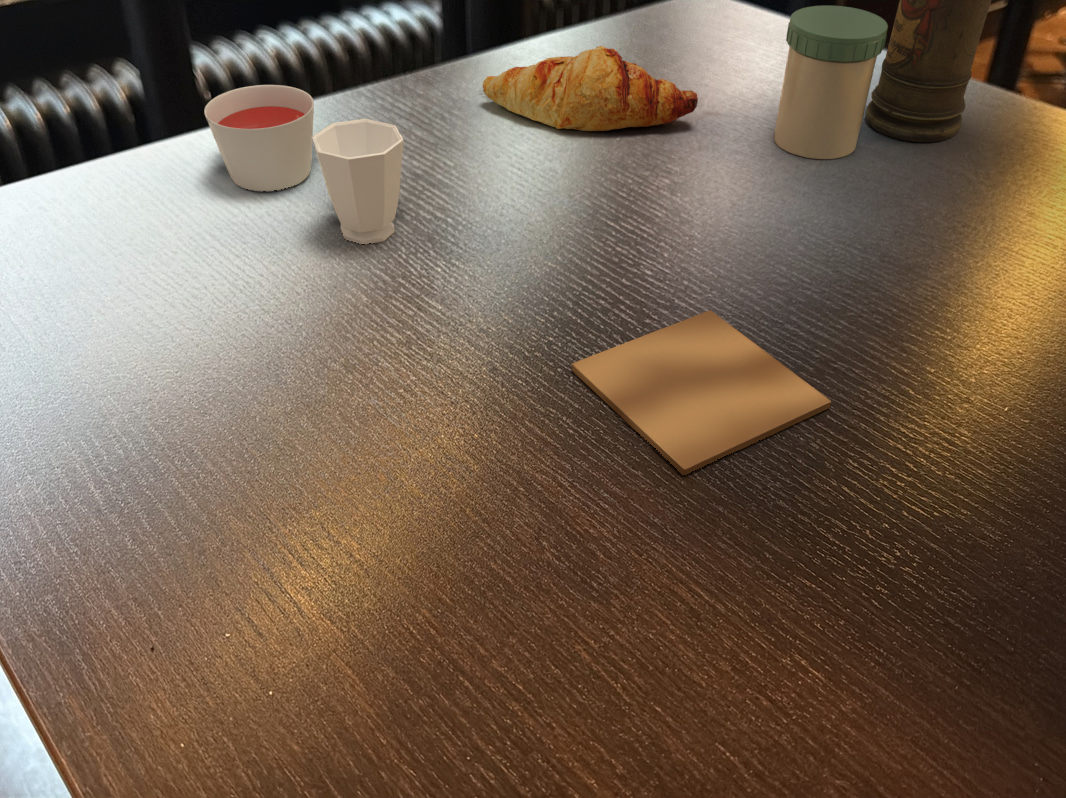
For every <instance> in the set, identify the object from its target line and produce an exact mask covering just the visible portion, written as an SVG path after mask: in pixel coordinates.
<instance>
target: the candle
mask: <svg viewBox="0 0 1066 798" xmlns="http://www.w3.org/2000/svg"><path fill="white" fill-rule="evenodd" d="M314 112H315V102H314V98H313V97H312V96H311V95H310V93H308V92H306V91H304V90H303V89H300V88H296V87H293V86H288V85H281V84H260V85H259V84H257V85H249V86H244V87H239V88H235V89H232V90H228V91H225V92H223V93H221V94H218V95H217V96H215V97H214V98H212V99H211V100H210V101H209V102H208V103H207V104H206V105H205V106H204V112H203V113H204V116H205V119H206V121H207V124H208V127H209V129H210V131H211V134H212V136H213V139H214V141H215V144H216V146H217V148H218V151H219V153H220V155H221V159H222V160H223V163H224V164H225V168H226V169H227V172H228V175H229V177H230V179H231V180H232V182H233V183H234V184H235V185H237V186H238V187H240V188H241V189H245V190H247V189H248V191H252V190H253V191H252V192H263V191H266V192H275V191H274V190H277V191H282V190H285V189H284V188H286V189H289V188H288V187H290V188H292V187H294V185H295V186H297V185H299V184H301V183H303V181H305V180H306V179H307V178H308V177H309V176H310V173H311V169H312V161H313V160H312V158H313V140H312V136H314ZM291 186H292V187H291ZM281 189H282V190H281Z"/></svg>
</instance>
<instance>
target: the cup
mask: <svg viewBox="0 0 1066 798" xmlns="http://www.w3.org/2000/svg"><path fill="white" fill-rule="evenodd" d="M312 144H313V147H314V150H315V153H316V156H317V159H318V163H319V166H320V170H321V173H322V176H323V181H324V183H325V187H326V190H327V193H328V197H329V198H330V201H331V204H332V206H333V209H334V211H335V213H336V216H337V219H338V221H339V223H340V226H339V227H340V231H341V234H342V233H343V234H342V237H343V239H344V238H345V239H346V240H345V239H344V240H345V241H347V240H349V241H348V242H351V241H353V242H352V243H354V242H357V243H356V244H358V243H359V244H358V245H361V244H365V245H370V244H369V243H371V244H377V243H383V242H385V241H386V240H387V239H388V238H389V237H391V236H392V235H393V234H394V233H395V232H396V230H395V225H394V223H393V221H394V220H395V219H396V214H397V211H398V210H397V209H398V205H399V200H400V191H401V179H402V177H401V176H402V166H403V165H402V164H403V152H404V138H403V136H402V135H401V132H400V131H399V129H398V127H397V126H396V124H391V123H387V122H382V121H377V120H374V119H369V118H360V119H353V120H345V121H338V122H332V123H330V124H329V125H327V126H326V127H324V128H322V129H321V130H320V131H318V132H317V133H314V134H313V136H312Z"/></svg>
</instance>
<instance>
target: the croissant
mask: <svg viewBox="0 0 1066 798" xmlns="http://www.w3.org/2000/svg"><path fill="white" fill-rule="evenodd" d="M482 92H483V94H484V95H485V96H486V97H487V98H488V99H489V100H492V101H493V102H494V103H495V104H497V105H499V106H501V107H503V108H504V109H506V110H507V111H508V112H512V113H513V114H516V115H520V116H522V117H525V118H527V119H530V120H532V121H534V122H539V123H541V124H544V125H546V126H550V127H553V128H556V130H557V129H558V130H560V129H561V130H562V129H565V130H578V131H581V132H605V131H606V132H607V131H610V130H621V129H626V128H647V127H652V126H659V125H664V124H670V123H673V122H674V121H676V120H679V119H680V118H682V117H685V116H686V115H689V114H691V113H694V112H695V110H696V109H697V107H698V101H699V99H698V98H699V97H698V94H697V92H695V91H693V90H683V89H682V90H681V89H679V88H678V87H677V85H676V84H675V83H674V82H672V81H669V80H666V79H665V78H659V79H656V78H655V77H653V76H652V75H650V74H649V73H648V71H647V70H646V69H644V68H643V67H642V66H639V65H638V64H637V63H634V62H629V61H626V60H623V57H622V55H620V54H619V52H618V50H616V49H614V48H608V47H605V46H603V45H599V46H596V48H592V49H586V50H582V51H580V53H578V55H575V56H554V57H546V58H545V59H543V60H540V61H538V62H537V63H535V64H531V65H528V66H513V67H511V68H509V69H507V70H505V71H502V72H501V73H499V75H497V76H495V75H489V76H486V77H485V78H484V79H483V81H482Z"/></svg>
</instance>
